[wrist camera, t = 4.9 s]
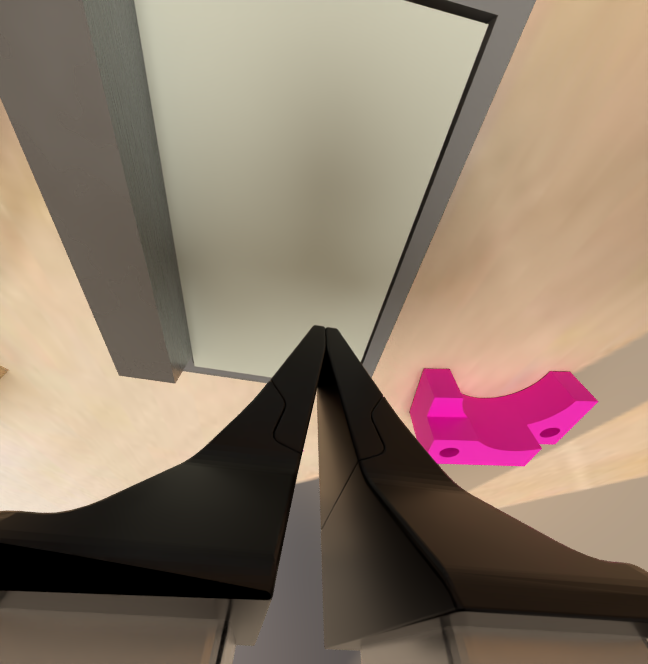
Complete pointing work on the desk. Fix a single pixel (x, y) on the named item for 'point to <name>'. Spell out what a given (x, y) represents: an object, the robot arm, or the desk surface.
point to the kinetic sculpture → (2, 371)
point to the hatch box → (441, 157)
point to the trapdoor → (231, 162)
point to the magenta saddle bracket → (495, 419)
